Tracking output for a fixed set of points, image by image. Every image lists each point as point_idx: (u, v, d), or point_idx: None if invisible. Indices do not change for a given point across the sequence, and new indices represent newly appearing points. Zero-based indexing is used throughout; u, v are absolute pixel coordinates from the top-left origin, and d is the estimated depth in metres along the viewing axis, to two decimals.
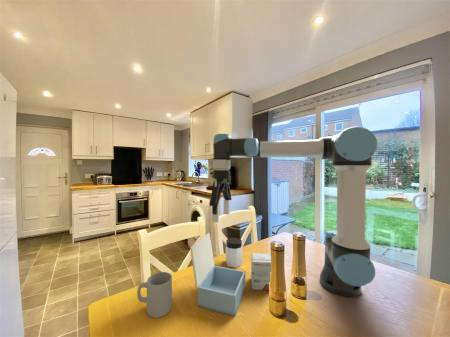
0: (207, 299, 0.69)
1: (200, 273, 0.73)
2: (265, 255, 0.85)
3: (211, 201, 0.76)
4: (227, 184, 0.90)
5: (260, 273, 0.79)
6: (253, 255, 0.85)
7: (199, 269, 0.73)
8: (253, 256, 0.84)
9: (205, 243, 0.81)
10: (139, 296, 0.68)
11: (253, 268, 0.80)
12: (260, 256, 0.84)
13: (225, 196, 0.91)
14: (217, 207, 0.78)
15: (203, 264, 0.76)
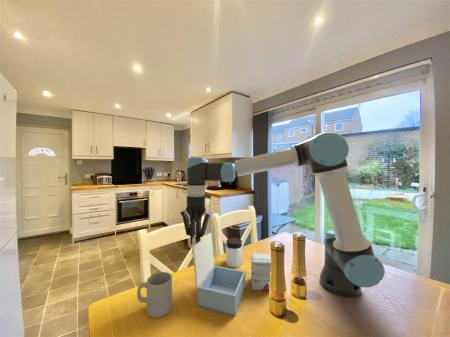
0: (207, 299, 0.69)
1: (200, 273, 0.73)
2: (265, 255, 0.85)
3: None
4: None
5: (260, 273, 0.79)
6: (253, 255, 0.85)
7: (200, 269, 0.73)
8: (253, 256, 0.84)
9: (207, 243, 0.80)
10: (139, 296, 0.68)
11: (253, 268, 0.80)
12: (260, 256, 0.84)
13: None
14: None
15: (204, 264, 0.76)
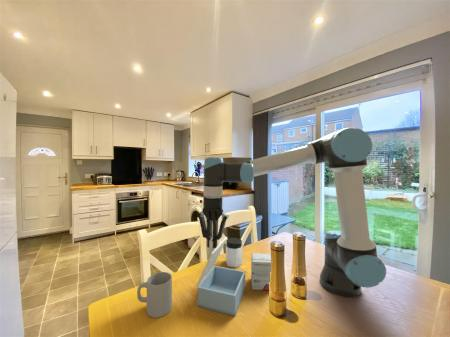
0: (207, 299, 0.69)
1: (204, 274, 0.72)
2: (265, 255, 0.85)
3: None
4: (222, 219, 0.74)
5: (260, 273, 0.79)
6: (253, 255, 0.85)
7: (206, 271, 0.72)
8: (253, 256, 0.84)
9: (220, 247, 0.78)
10: (139, 296, 0.68)
11: (253, 268, 0.80)
12: (260, 256, 0.84)
13: None
14: (209, 241, 0.76)
15: (210, 266, 0.75)
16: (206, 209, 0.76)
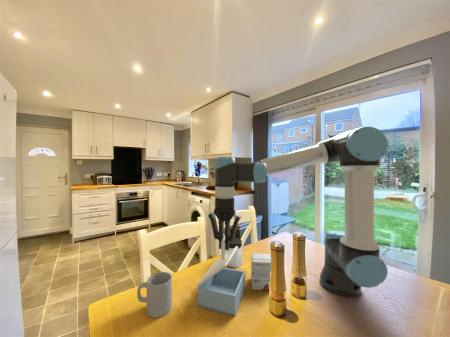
0: (207, 299, 0.69)
1: None
2: (265, 255, 0.85)
3: None
4: None
5: (260, 273, 0.79)
6: (253, 255, 0.85)
7: None
8: (253, 256, 0.84)
9: (229, 256, 0.77)
10: (139, 296, 0.68)
11: (253, 268, 0.80)
12: (260, 256, 0.84)
13: None
14: (221, 242, 0.74)
15: (213, 270, 0.75)
16: (218, 210, 0.74)
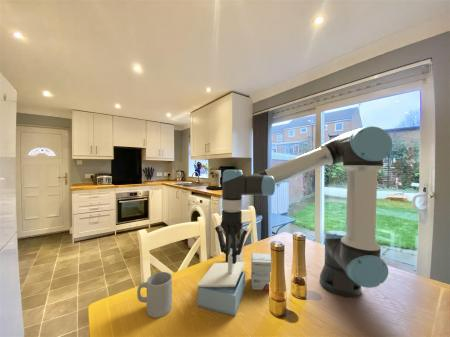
0: (207, 299, 0.69)
1: None
2: (265, 255, 0.85)
3: None
4: (242, 234, 0.72)
5: (260, 273, 0.79)
6: (253, 255, 0.85)
7: None
8: (253, 256, 0.84)
9: None
10: (139, 296, 0.68)
11: (253, 268, 0.80)
12: (260, 256, 0.84)
13: None
14: (228, 256, 0.73)
15: None
16: (225, 223, 0.73)
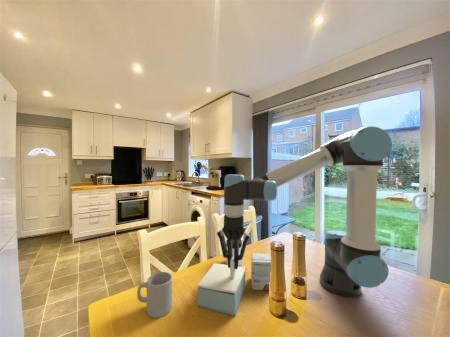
0: (207, 299, 0.69)
1: None
2: (265, 255, 0.85)
3: None
4: (244, 239, 0.72)
5: (260, 273, 0.79)
6: (253, 255, 0.85)
7: None
8: (253, 256, 0.84)
9: None
10: (139, 296, 0.68)
11: (253, 268, 0.80)
12: (260, 256, 0.84)
13: None
14: (230, 261, 0.73)
15: None
16: (227, 228, 0.73)
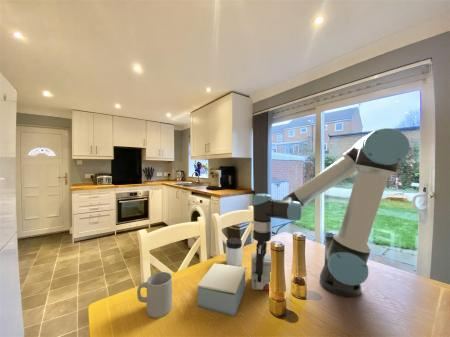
0: (207, 299, 0.69)
1: None
2: (265, 255, 0.85)
3: (257, 270, 0.76)
4: (264, 242, 0.88)
5: None
6: (253, 255, 0.85)
7: None
8: (253, 256, 0.84)
9: None
10: (139, 296, 0.68)
11: (253, 268, 0.80)
12: None
13: None
14: (262, 274, 0.78)
15: None
16: (263, 245, 0.81)
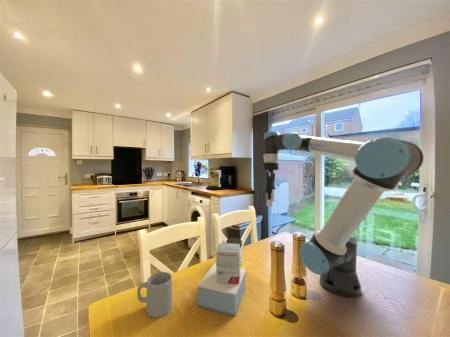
0: (207, 299, 0.69)
1: None
2: (234, 245, 0.76)
3: (267, 188, 0.90)
4: None
5: (225, 264, 0.71)
6: (220, 245, 0.77)
7: None
8: (220, 246, 0.76)
9: None
10: (139, 296, 0.68)
11: (217, 258, 0.71)
12: (228, 246, 0.75)
13: None
14: (271, 193, 0.92)
15: None
16: (272, 173, 0.97)
